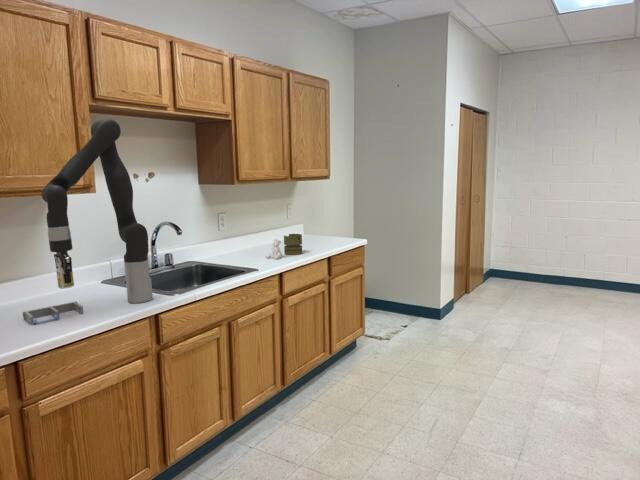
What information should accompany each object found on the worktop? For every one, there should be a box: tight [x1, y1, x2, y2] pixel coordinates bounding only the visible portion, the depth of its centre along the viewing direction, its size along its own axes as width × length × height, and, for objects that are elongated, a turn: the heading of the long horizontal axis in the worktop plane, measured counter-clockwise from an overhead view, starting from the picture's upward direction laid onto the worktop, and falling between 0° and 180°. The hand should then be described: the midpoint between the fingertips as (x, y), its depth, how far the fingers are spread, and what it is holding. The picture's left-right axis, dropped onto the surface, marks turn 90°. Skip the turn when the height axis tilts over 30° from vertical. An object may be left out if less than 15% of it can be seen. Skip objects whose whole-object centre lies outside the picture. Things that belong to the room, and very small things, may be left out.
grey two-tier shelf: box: [22, 301, 84, 326], centre depth 184 cm, size 19×10×3 cm, turn 133°
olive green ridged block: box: [283, 233, 303, 256], centre depth 303 cm, size 11×12×11 cm
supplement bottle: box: [55, 262, 75, 290], centre depth 183 cm, size 5×5×10 cm
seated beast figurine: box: [265, 238, 283, 261], centre depth 289 cm, size 10×9×12 cm
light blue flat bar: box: [32, 315, 60, 326], centre depth 178 cm, size 8×1×2 cm, turn 133°
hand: (65, 281), depth 183 cm, fingers closed on supplement bottle, 5 cm apart
